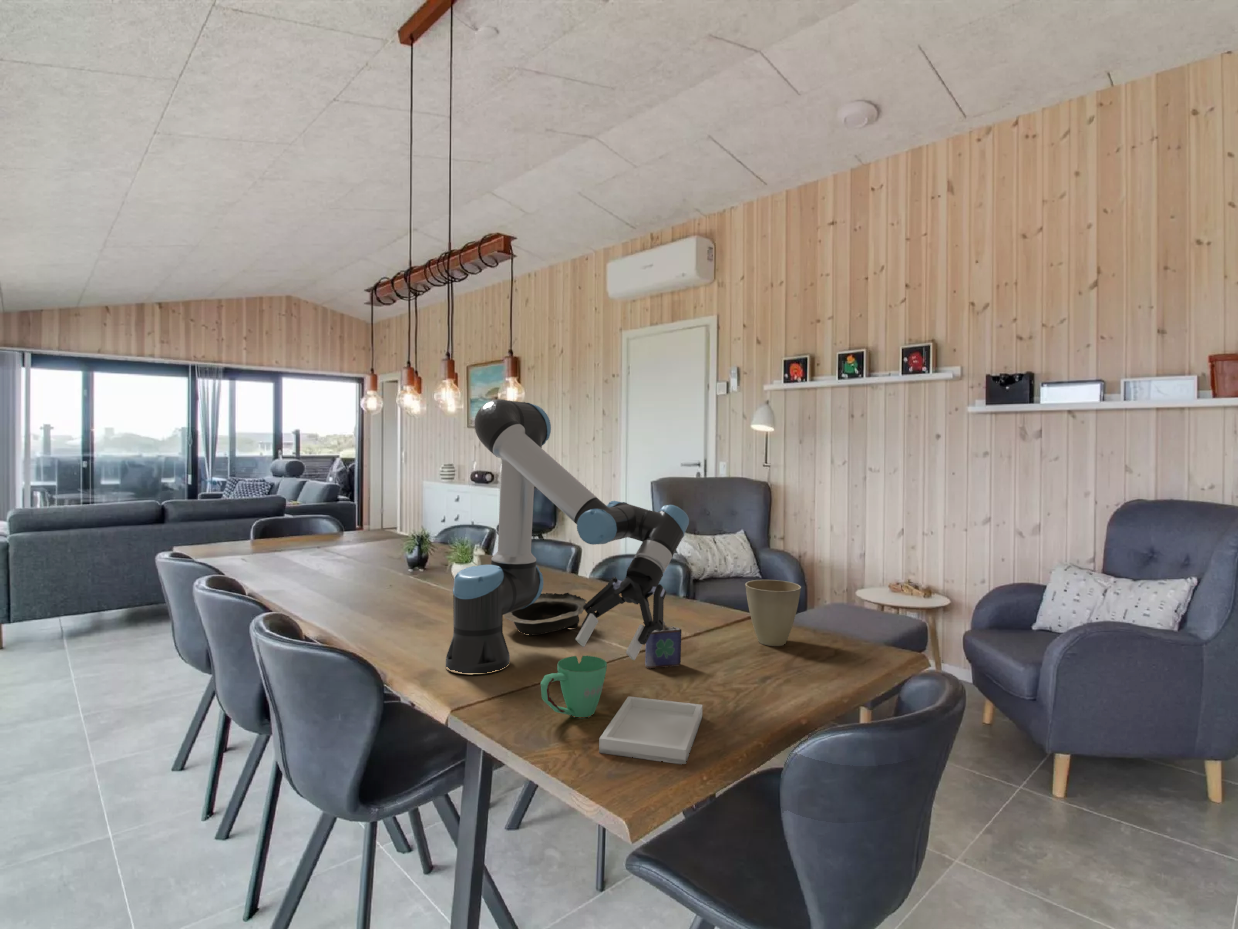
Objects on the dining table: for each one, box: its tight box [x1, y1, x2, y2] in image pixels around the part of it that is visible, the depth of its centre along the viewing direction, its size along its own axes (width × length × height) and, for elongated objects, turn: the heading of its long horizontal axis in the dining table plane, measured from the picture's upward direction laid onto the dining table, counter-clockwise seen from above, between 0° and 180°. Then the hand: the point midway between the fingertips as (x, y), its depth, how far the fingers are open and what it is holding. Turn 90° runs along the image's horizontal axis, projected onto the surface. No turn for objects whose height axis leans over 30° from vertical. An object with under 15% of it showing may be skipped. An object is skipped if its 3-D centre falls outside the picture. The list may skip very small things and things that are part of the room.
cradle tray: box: [598, 695, 703, 765], centre depth 118 cm, size 15×20×2 cm
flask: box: [644, 620, 682, 669], centre depth 156 cm, size 9×3×11 cm, turn 109°
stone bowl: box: [503, 592, 587, 636], centre depth 186 cm, size 25×25×9 cm
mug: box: [540, 655, 608, 718], centre depth 125 cm, size 15×10×10 cm
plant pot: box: [744, 579, 802, 647], centre depth 176 cm, size 15×15×16 cm
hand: (604, 649), depth 130 cm, fingers open, 13 cm apart
